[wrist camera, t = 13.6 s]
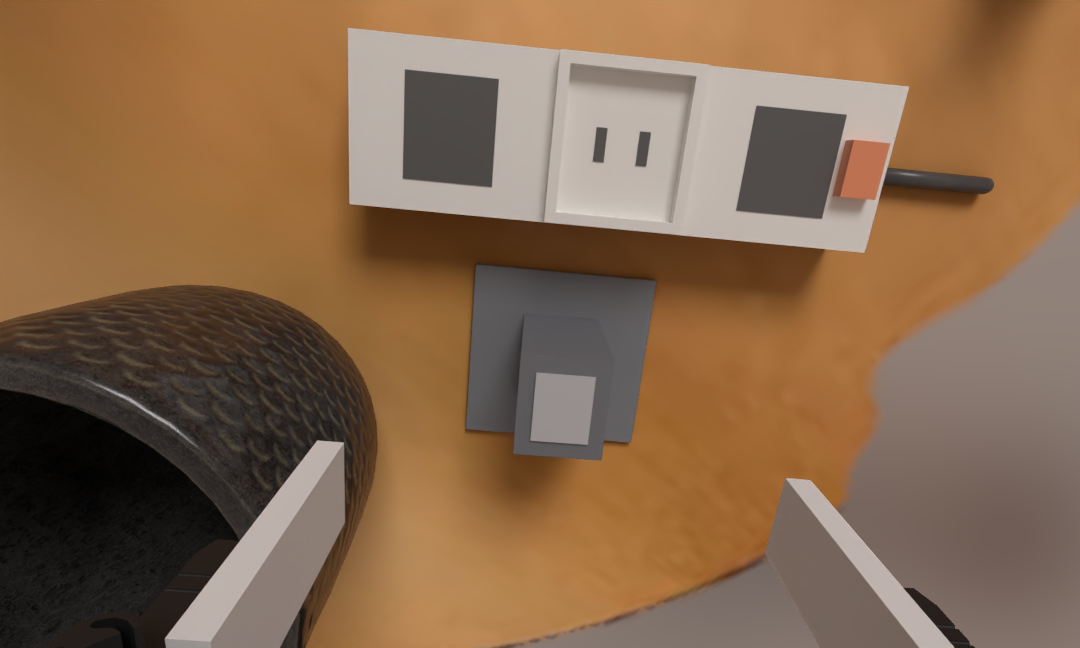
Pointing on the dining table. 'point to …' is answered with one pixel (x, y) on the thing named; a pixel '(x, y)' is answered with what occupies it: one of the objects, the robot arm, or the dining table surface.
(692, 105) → the strip
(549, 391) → the charger
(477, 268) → the mat
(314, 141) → the dining table surface
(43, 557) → the planter
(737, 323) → the dining table surface
